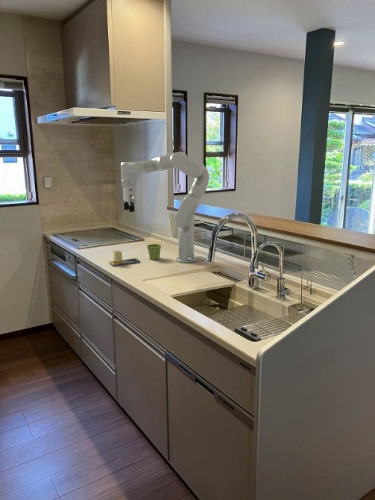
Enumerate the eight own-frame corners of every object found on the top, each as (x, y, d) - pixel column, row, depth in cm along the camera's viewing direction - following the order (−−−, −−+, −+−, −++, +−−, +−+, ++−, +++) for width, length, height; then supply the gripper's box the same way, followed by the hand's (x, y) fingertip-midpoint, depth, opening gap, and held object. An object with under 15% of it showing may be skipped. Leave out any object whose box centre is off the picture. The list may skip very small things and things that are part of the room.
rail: (136, 259, 252) (136, 257, 252) (140, 262, 246) (139, 260, 246) (109, 263, 245) (109, 261, 244) (112, 266, 239) (112, 264, 238)
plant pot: (144, 260, 251) (143, 246, 249) (151, 256, 260) (150, 243, 258) (158, 261, 248) (157, 247, 246) (164, 257, 256) (164, 244, 254)
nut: (122, 264, 243) (121, 251, 241) (115, 265, 241) (115, 252, 239) (120, 262, 246) (119, 250, 244) (114, 263, 244) (113, 251, 242)
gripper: (138, 183, 239) (139, 212, 243) (129, 181, 254) (130, 208, 258) (126, 184, 236) (128, 213, 240) (117, 182, 251) (119, 209, 255)
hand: (129, 210), depth 249 cm, fingers open, 9 cm apart
